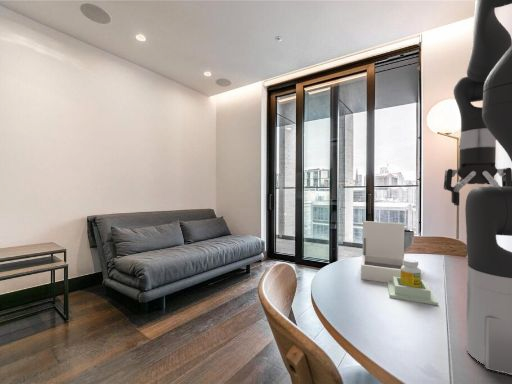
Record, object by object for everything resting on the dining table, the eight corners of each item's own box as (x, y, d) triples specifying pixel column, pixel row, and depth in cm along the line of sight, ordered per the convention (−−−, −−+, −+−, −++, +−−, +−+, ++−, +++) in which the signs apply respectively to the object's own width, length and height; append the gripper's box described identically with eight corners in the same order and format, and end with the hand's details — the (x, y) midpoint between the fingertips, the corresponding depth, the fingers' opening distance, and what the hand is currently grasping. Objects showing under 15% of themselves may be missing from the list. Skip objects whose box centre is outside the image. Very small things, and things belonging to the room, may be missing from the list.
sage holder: (438, 305, 70) (438, 293, 70) (389, 297, 75) (389, 286, 75) (429, 289, 80) (429, 279, 80) (387, 283, 86) (387, 274, 86)
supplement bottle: (405, 286, 81) (405, 257, 81) (423, 292, 77) (424, 261, 77) (397, 289, 78) (397, 259, 78) (415, 296, 74) (415, 264, 74)
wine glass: (387, 263, 108) (388, 229, 108) (399, 261, 111) (400, 228, 111) (405, 269, 101) (406, 232, 101) (417, 266, 104) (418, 231, 104)
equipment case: (409, 285, 84) (409, 229, 83) (360, 278, 90) (361, 226, 90) (403, 270, 99) (404, 223, 99) (362, 265, 106) (363, 221, 105)
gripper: (449, 147, 68) (447, 206, 69) (518, 143, 62) (517, 208, 63) (442, 151, 75) (441, 204, 75) (504, 148, 69) (503, 206, 69)
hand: (475, 206), depth 69 cm, fingers open, 8 cm apart
